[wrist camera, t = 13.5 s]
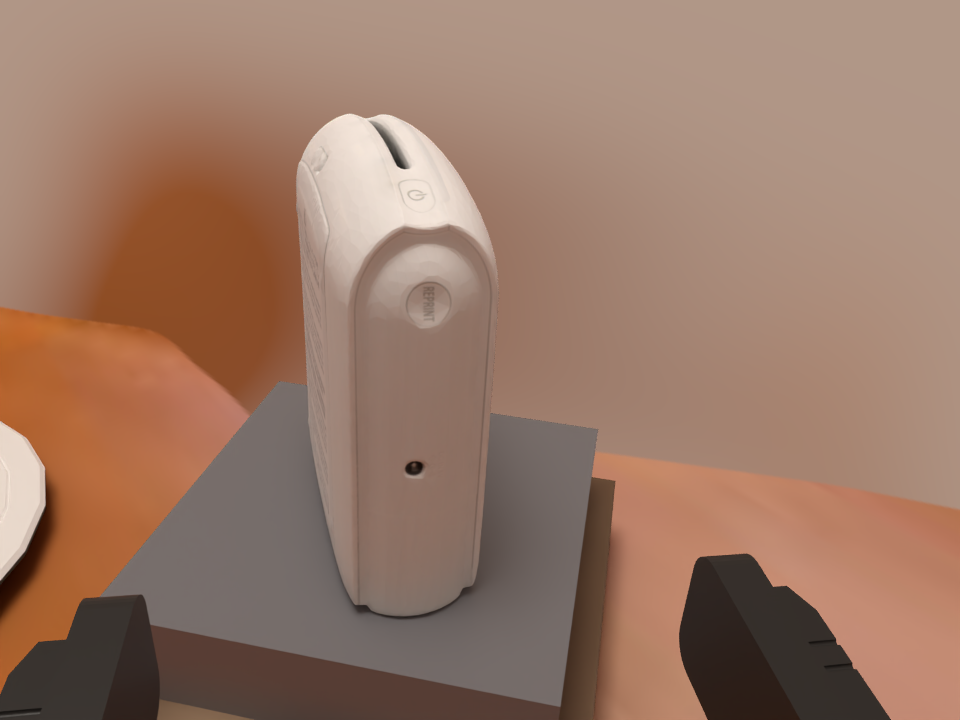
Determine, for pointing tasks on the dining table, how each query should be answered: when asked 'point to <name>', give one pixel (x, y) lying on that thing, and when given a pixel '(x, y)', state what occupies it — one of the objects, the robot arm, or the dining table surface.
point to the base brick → (583, 629)
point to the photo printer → (396, 359)
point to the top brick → (327, 605)
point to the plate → (18, 497)
